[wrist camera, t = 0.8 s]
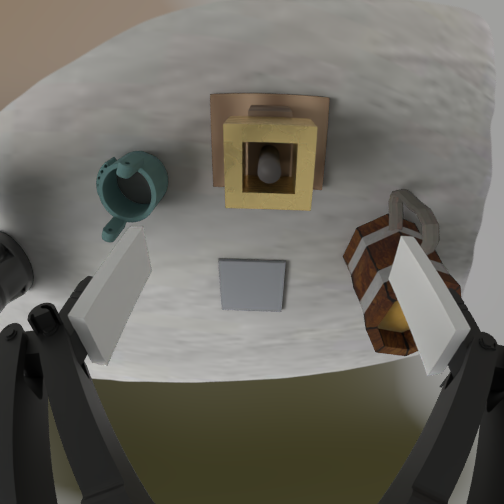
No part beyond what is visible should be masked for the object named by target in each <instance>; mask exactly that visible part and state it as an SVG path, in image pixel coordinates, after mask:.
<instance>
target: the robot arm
mask: <svg viewBox="0 0 504 504" xmlns="http://www.w3.org/2000/svg"><path fill="white" fill-rule="evenodd" d="M151 272H152V268H151V264H150V259H149V254H148V249H147V244H146V239H145V233H144V228H143V227H134V226H130V227H129V228H128V230H127V231H126V232H125V234H124V235H123V236H122V238H121V239H120V240H119V242H118V243H117V244H116V246H115V247H114V248H113V250H112V251H111V253H110V254H109V255H108V257H107V258H106V259H105V261H104V262H103V264H102V265H101V266H100V268H99V269H98V271H97V272H96V274H95V275H94V276H93V277H91V276H88V277H86V278H85V279H84V280H82V281H81V282H80V283H79V284H78V286H77V287H76V289H75V290H74V292H73V293H72V294H71V296H70V298H69V299H68V300H67V302H66V303H65V305H64V306H63V308H62V309H61V311H60V312H59V314H58V312H57V310H56V308H55V306H54V305H53V304H51V303H43V304H40V305H38V306H36V307H35V308H33V309H32V310H31V312H30V313H29V315H28V322H29V323H30V325H31V327H32V329H33V330H34V331H26V332H25V331H24V330H23V328H22V326H21V325H20V324H18V323H12V324H10V325H8V326H6V327H5V328H4V329H3V330H2V331H1V333H0V504H57V498H56V493H55V486H54V479H53V472H52V464H51V453H50V441H49V423H48V397H49V401H50V405H51V408H52V412H53V416H54V419H55V422H56V426H57V429H58V432H59V435H60V438H61V441H62V444H63V447H64V450H65V452H66V455H67V458H68V461H69V463H70V466H71V468H72V471H73V473H74V476H75V478H76V481H77V483H78V485H79V487H80V490H81V492H82V495H83V499H82V501H81V504H155V503H154V502H153V501H152V499H151V498H150V496H149V495H148V493H147V491H146V490H145V488H144V486H143V485H142V483H141V481H140V480H139V478H138V476H137V474H136V473H135V471H134V469H133V467H132V466H131V464H130V462H129V460H128V458H127V456H126V454H125V453H124V451H123V449H122V447H121V445H120V443H119V441H118V439H117V437H116V435H115V433H114V431H113V428H112V426H111V424H110V422H109V420H108V418H107V415H106V413H105V411H104V408H103V406H102V404H101V402H100V399H99V397H98V394H97V392H96V389H95V387H94V384H93V381H92V379H91V376H90V374H89V371H88V368H87V365H86V364H85V362H84V360H85V358H86V356H87V354H88V356H89V358H90V360H91V361H92V363H96V364H101V365H106V366H108V363H109V361H110V359H111V356H112V354H113V352H114V349H115V347H116V345H117V343H118V340H119V338H120V336H121V334H122V332H123V329H124V327H125V325H126V323H127V321H128V319H129V316H130V314H131V312H132V310H133V308H134V306H135V304H136V302H137V300H138V298H139V296H140V293H141V291H142V289H143V287H144V285H145V283H146V281H147V279H148V277H149V275H150V273H151ZM389 281H390V283H391V285H392V288H393V290H394V292H395V294H396V297H397V299H398V301H399V304H400V306H401V308H402V311H403V313H404V316H405V318H406V320H407V323H408V325H409V328H410V330H411V333H412V335H413V338H414V341H415V343H416V346H417V348H418V351H419V354H420V357H421V359H422V362H423V365H424V367H425V370H426V373H427V376H429V375H437V374H442V372H443V371H444V370H445V368H446V367H447V365H448V366H449V369H450V371H451V372H450V373H449V375H448V376H447V377H446V379H445V380H444V381H443V383H442V384H441V385H440V387H442V386H443V388H442V391H441V393H440V395H439V397H438V399H437V402H436V404H435V406H434V408H433V410H432V413H431V415H430V417H429V419H428V421H427V423H426V425H425V427H424V429H423V431H422V433H421V435H420V436H419V439H418V440H417V442H416V444H415V446H414V448H413V449H412V451H411V453H410V455H409V457H408V458H407V460H406V461H405V463H404V465H403V466H402V468H401V470H400V471H399V473H398V475H397V476H396V478H395V479H394V481H393V482H392V484H391V485H390V487H389V488H388V490H387V491H386V493H385V494H384V496H383V497H382V499H381V500H380V501H379V503H378V504H448V500H449V498H450V496H451V494H452V492H453V490H454V488H455V485H456V483H457V481H458V479H459V477H460V474H461V472H462V470H463V468H464V465H465V463H466V461H467V458H468V456H469V453H470V451H471V448H472V445H473V442H474V440H475V437H476V434H477V431H478V428H479V425H480V429H479V438H478V447H477V454H476V460H475V466H474V472H473V477H472V482H471V487H470V491H469V496H468V500H467V504H504V346H502V345H498V344H497V342H496V340H495V339H494V338H493V337H492V336H491V335H490V334H488V333H485V332H481V331H480V329H479V327H478V326H477V324H476V322H475V320H474V318H473V317H472V315H471V313H470V312H469V311H468V308H467V306H466V305H464V301H463V300H462V298H461V297H460V295H459V294H458V293H457V292H456V291H455V290H454V289H452V288H447V287H446V285H445V283H444V282H443V280H442V279H441V277H440V275H439V274H438V272H437V271H436V269H435V268H434V266H433V265H432V263H431V261H430V260H429V258H428V257H427V255H426V254H425V253H424V251H423V250H422V248H421V247H420V245H419V244H418V242H417V241H416V239H415V238H414V237H412V236H401V238H400V241H399V245H398V249H397V252H396V256H395V259H394V262H393V266H392V269H391V272H390V275H389ZM32 283H33V271H32V268H31V265H30V262H29V260H28V258H27V256H26V255H25V253H24V251H23V250H22V249H21V247H20V246H19V245H18V244H17V243H16V242H15V241H14V240H13V239H12V238H11V237H9V236H8V235H6V234H5V233H2V232H0V313H1V311H2V310H3V309H4V307H5V306H6V305H7V304H8V303H10V302H12V301H13V300H15V299H17V298H18V297H20V296H22V295H24V294H25V293H26V292H27V291H28V289H29V288H30V287H31V285H32Z"/></svg>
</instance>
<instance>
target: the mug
mask: <svg viewBox="0 0 504 504" xmlns="http://www.w3.org/2000/svg"><path fill="white" fill-rule="evenodd" d="M403 203H404V204H405V205H406V206H407V207H408V208H409V209H410V210H411V211H413V212H414V213H415V214H417V216H418V218H419V220H420V222H421V224H422V235H421V234H420V232H419V230H418V228H417V226H416V225H415V223H412V222H409V221H407V220H404V219H403ZM401 236H412V237H414V238H415V239H416V241H417V242H418V244H419V245H420V247H421V248H422V250H423V251H424V253H425V254H426V255H427V257H428V258H429V260H430V261H431V263H432V265H433V266H434V268H435V269H436V271H437V272H438V274H439V275H440V277H441V279H442V280H443V282H444V283H445V285H446V287H447V288H452V289H454V290H455V291H456V292H457V293H458V294H459V295H460V297H461V288H460V285H459V284H458V283H457V282H456V280H455V279H454V278H453V277H452V276H451V275H450V274H449V272H448V271H447V269H446V268H445V267H444V265H443V264H442V262H441V260H440V258H439V256H438V254H437V252H436V251H435V248H436V246H437V244H438V242H439V223H438V221H437V220H436V218H435V216H434V214H433V212H432V211H431V209H430V208H429V207H427V206H426V205H425V204H423V203H422V202H421V201H420V200H419V199H418V198H417V197H416V196H414V195H413V194H412V193H411V192H410V191H408V190H405V189H401V190H396V191H392V193H391V195H390V199H389V214H386V215H384V216H382V217H380V218H377V219H375V220H373V221H371V222H369V223H366V224H364V225H362V226H360V227H358V228H356V230H355V233H354V235H353V237H352V239H351V241H350V243H349V245H348V247H347V249H346V251H345V253H344V255H343V258H344V260H345V262H346V265H347V267H348V269H349V271H350V274H351V277H352V282H353V288H354V290H355V292H356V295H357V297H358V299H359V301H360V304H361V307H362V310H363V313H364V320H365V327H366V331H367V333H368V335H369V338H370V340H371V342H372V345H373V347H374V350H375V352H378V353H385V354H393V355H402V356H407V355H409V354H412V353H414V352H416V351H418V348H417V346H416V343H415V341H414V338H413V335H412V333H411V330H410V328H409V325H408V323H407V320H406V318H405V316H404V313H403V311H402V308H401V306H400V304H399V301H398V299H397V297H396V294H395V292H394V290H393V288H392V285H391V283H390V281H389V275H390V272H391V269H392V266H393V262H394V259H395V256H396V252H397V249H398V245H399V241H400V238H401Z"/></svg>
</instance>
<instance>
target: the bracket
mask: <svg viewBox="0 0 504 504" xmlns="http://www.w3.org/2000/svg"><path fill="white" fill-rule="evenodd" d="M137 171H138V172H139V173H141V174H142V175H143V176H144V177H145V179H146V180H147V182H148V184H149V186H150V189H151V203H148V204H139V203H135V202H133V201H131V200H129V199H128V198H127V197H125V196H124V194H123V193H122V192H121V190H120V189H119V186H118V183H117V177H116V176H117V175H118V176H119V177H121V178H126V179H128V178H130V177H131V176H132V175H133V174H135V173H136V172H137ZM96 186H97V192H98V195H99V197H100V200H101V202H102V204H103V206H104V207H105V209H106V210H107V211H108V212H109V213H110V214H111V215H112V216H113V218H112V219H111V220H110V221H109V223H108V224H107V225H106V226H105V227H104V228H103V232H102V239H103V240H104V241H106V242H113V241H114V240H115V239H116V238H117V236H118V235H119V234H120V233H121V231H122V230H123V229H124V227H125V225H126V222H138V221H141V220H143V219H145V218H146V217H148V216H149V215H150V213H151V212H152V211H153V209H154V208H155V207H156V205H157V204H158V203H159V201H160V200H161V199H162V197H163V196H164V194H165V193H166V190H167V187H168V176H167V172H166V169H165V167H164V166H163V164H162V163H161V161H160V160H159V159H158V158H156V157H155V156H153V155H151V154H148V153H146V152H143V151H134V152H131V153H128V154H126V155H125V156H123V157H122V158H120V159H119V160H116V158H115V157H113V158H111V159H110V160H108V161H107V162H105V163H104V164H103V166H102V167H101V168H100V170H99V172H98V176H97V181H96Z"/></svg>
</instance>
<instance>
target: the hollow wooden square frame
mask: <svg viewBox="0 0 504 504" xmlns="http://www.w3.org/2000/svg"><path fill="white" fill-rule="evenodd" d="M223 139H224V178H225V208H247V209H281V210H306V211H311V201H312V191H313V180H314V168H315V155H316V142H317V126H316V125H315V124H314V123H313V122H312V120H311V119H306V118H289V117H260V116H230V117H229V118H228V119H227V120H226V121H225V123H224V124H223ZM246 142H275V143H293V153H292V172H291V177H290V176H280V178H279V180H278V181H276V182H274V183H270V184H269V183H265V182H263V181H261V180H260V178H259V177H258V175H246Z"/></svg>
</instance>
